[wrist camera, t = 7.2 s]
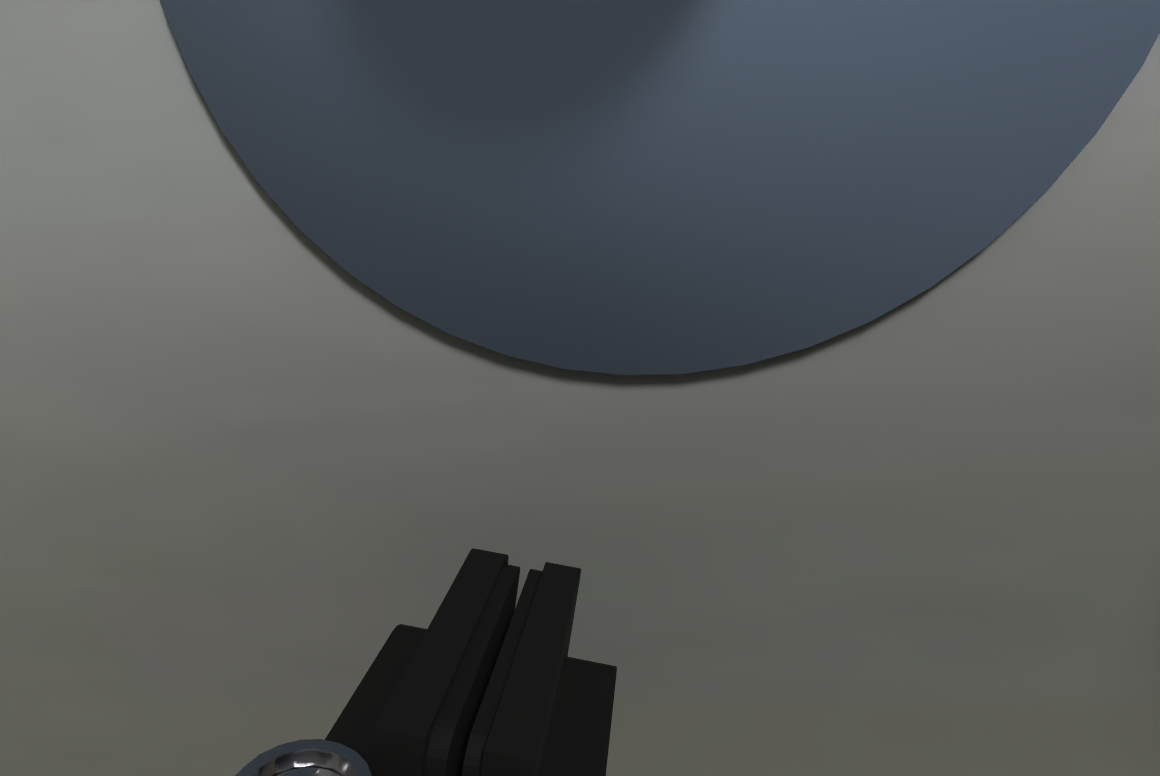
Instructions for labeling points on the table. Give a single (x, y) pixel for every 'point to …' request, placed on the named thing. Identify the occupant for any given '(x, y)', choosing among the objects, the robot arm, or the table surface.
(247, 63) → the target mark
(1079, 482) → the table surface
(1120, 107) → the table surface
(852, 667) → the table surface
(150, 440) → the table surface
